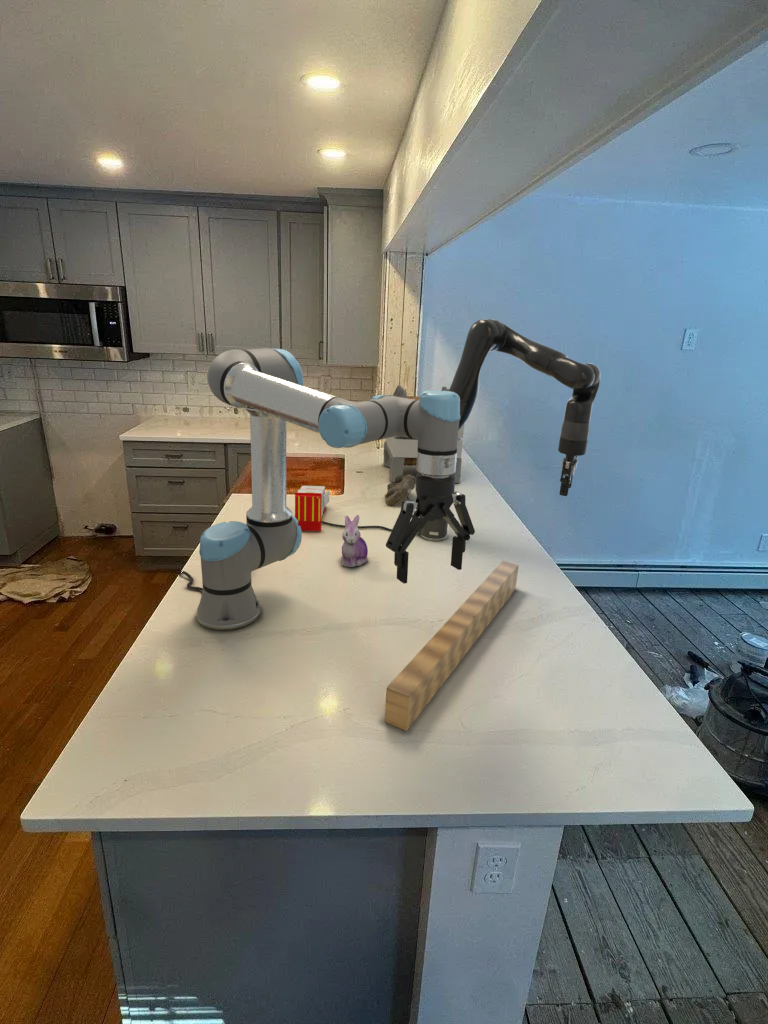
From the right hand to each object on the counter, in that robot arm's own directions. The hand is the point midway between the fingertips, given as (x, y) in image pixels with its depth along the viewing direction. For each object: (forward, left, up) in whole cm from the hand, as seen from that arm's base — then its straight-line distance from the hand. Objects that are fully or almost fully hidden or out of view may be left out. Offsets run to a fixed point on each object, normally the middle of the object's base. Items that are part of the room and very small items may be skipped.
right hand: (565, 491), depth 164 cm
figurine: (-52, -32, -27) cm, 67 cm away
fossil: (-76, +29, -27) cm, 86 cm away
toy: (-88, -12, -27) cm, 93 cm away
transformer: (-91, +68, -27) cm, 117 cm away
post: (-4, -51, -27) cm, 58 cm away
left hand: (-5, -68, -3) cm, 68 cm away
